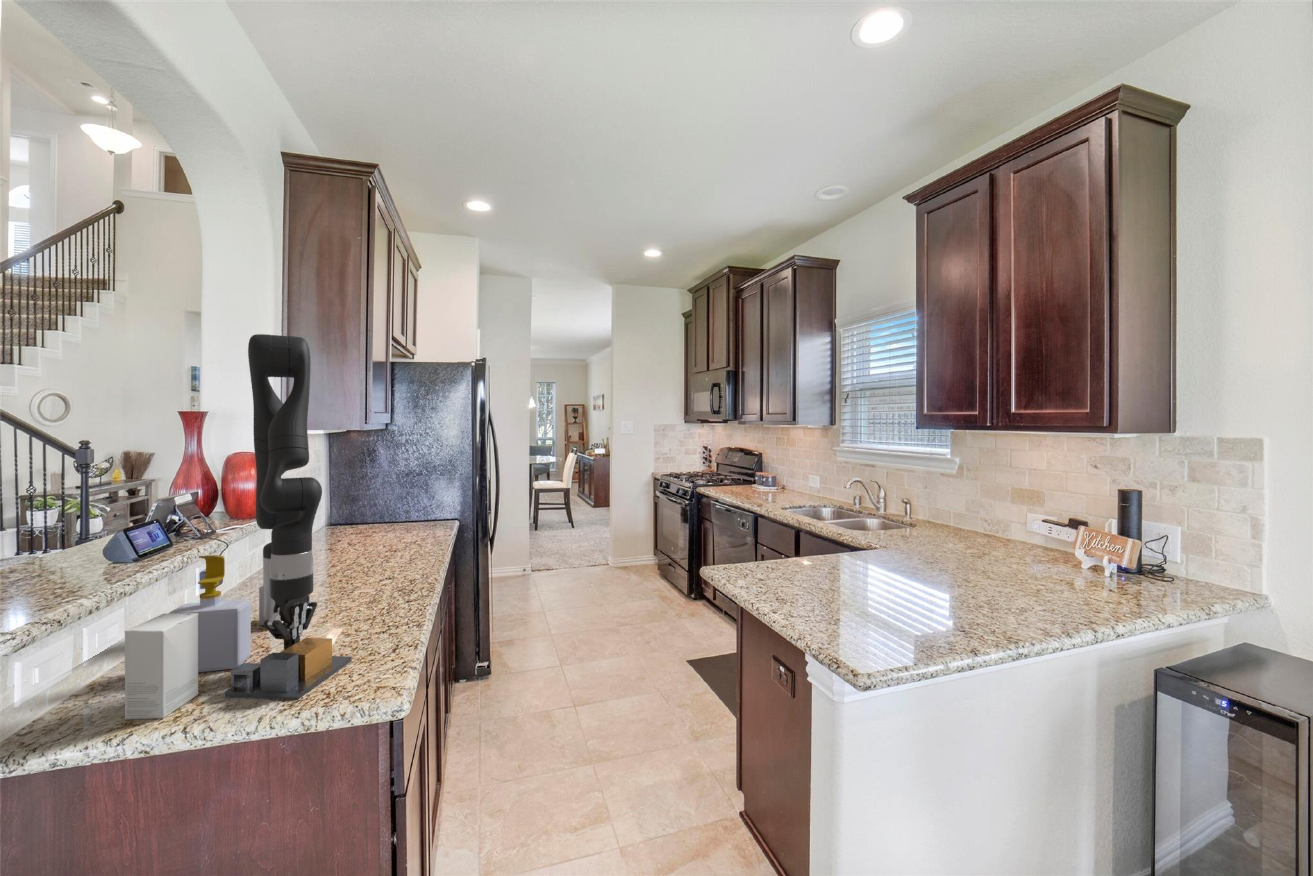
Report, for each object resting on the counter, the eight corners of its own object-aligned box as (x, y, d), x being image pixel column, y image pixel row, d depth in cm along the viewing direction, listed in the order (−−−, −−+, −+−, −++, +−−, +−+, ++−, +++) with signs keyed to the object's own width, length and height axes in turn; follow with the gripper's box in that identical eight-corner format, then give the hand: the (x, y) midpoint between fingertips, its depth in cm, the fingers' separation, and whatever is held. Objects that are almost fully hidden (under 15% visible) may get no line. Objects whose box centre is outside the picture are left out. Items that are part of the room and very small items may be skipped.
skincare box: (164, 696, 98) (163, 612, 97) (202, 695, 98) (201, 611, 98) (122, 721, 89) (121, 629, 89) (164, 719, 90) (163, 629, 90)
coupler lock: (276, 679, 102) (276, 654, 102) (306, 661, 110) (306, 637, 110) (305, 680, 102) (305, 654, 102) (332, 662, 110) (332, 638, 110)
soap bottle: (165, 677, 105) (164, 560, 105) (183, 662, 111) (183, 552, 111) (238, 669, 109) (238, 556, 108) (252, 656, 115) (251, 549, 115)
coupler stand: (224, 697, 97) (224, 659, 97) (287, 659, 113) (287, 627, 113) (298, 699, 97) (297, 661, 97) (351, 661, 113) (351, 628, 113)
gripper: (286, 582, 104) (286, 669, 104) (330, 565, 117) (329, 642, 117) (249, 581, 104) (249, 669, 104) (296, 564, 117) (296, 642, 118)
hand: (292, 654), depth 111 cm, fingers closed
